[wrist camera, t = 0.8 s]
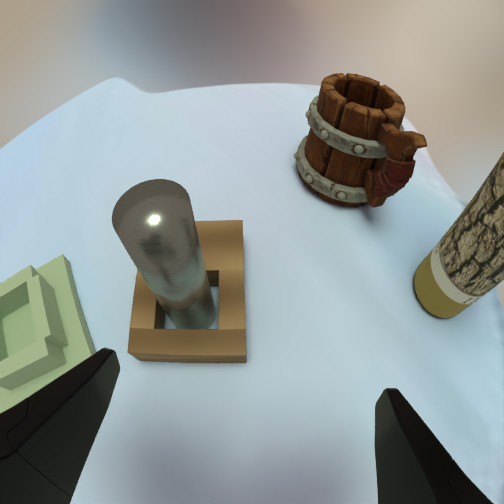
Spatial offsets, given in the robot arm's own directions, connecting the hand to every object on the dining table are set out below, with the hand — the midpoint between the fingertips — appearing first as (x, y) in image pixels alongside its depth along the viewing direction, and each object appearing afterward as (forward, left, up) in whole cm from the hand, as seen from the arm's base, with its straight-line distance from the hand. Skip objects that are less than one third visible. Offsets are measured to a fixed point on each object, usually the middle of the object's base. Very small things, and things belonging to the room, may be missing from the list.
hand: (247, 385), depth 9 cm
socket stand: (-8, +20, -15) cm, 26 cm away
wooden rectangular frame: (+6, +9, -15) cm, 19 cm away
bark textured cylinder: (+18, -12, -15) cm, 27 cm away
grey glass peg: (+4, +8, -15) cm, 18 cm away
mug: (+27, +2, -15) cm, 31 cm away
